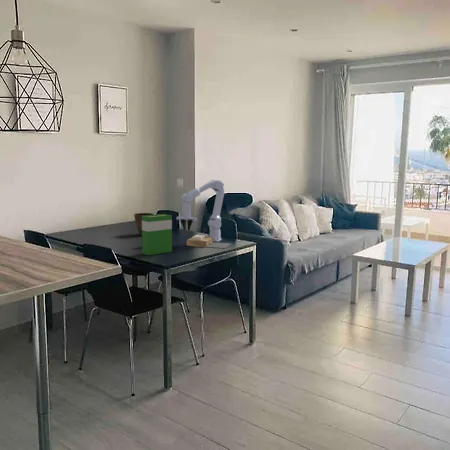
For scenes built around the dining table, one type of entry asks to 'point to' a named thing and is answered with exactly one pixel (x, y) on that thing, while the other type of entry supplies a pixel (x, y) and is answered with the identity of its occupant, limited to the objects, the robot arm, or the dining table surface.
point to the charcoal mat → (219, 245)
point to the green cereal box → (156, 234)
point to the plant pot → (140, 220)
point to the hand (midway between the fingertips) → (186, 230)
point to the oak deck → (200, 242)
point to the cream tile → (198, 237)
